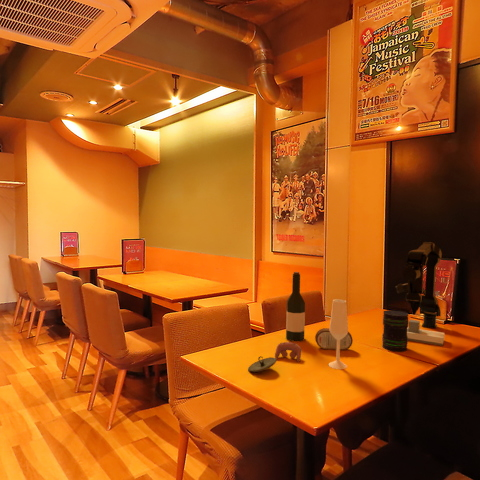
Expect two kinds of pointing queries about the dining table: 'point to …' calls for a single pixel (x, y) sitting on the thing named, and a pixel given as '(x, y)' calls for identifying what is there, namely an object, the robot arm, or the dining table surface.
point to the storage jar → (395, 330)
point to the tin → (332, 340)
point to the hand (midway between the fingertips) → (415, 312)
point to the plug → (414, 326)
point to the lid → (262, 364)
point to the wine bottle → (295, 312)
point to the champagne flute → (338, 328)
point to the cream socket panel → (426, 337)
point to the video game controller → (288, 346)
